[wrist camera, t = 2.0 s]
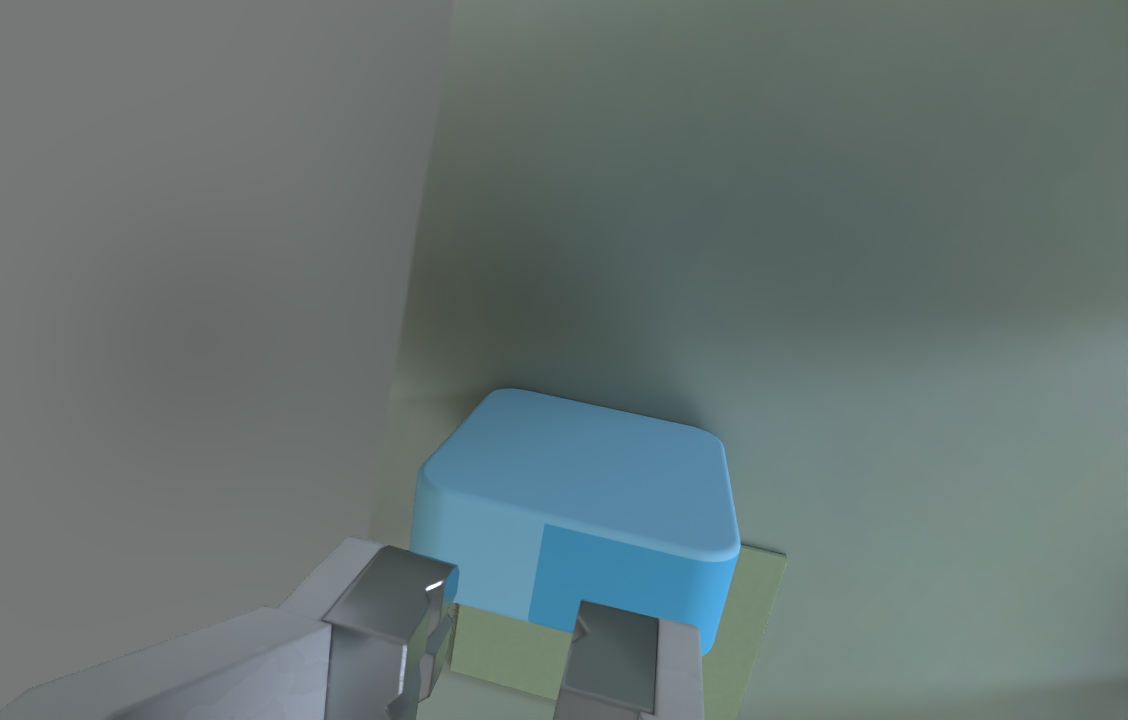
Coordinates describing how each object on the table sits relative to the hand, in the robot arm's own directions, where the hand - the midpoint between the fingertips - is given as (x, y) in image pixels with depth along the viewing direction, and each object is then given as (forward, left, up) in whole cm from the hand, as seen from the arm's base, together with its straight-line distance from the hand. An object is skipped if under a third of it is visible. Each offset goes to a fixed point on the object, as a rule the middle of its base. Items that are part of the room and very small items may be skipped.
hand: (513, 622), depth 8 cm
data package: (0, +8, -24) cm, 26 cm away
